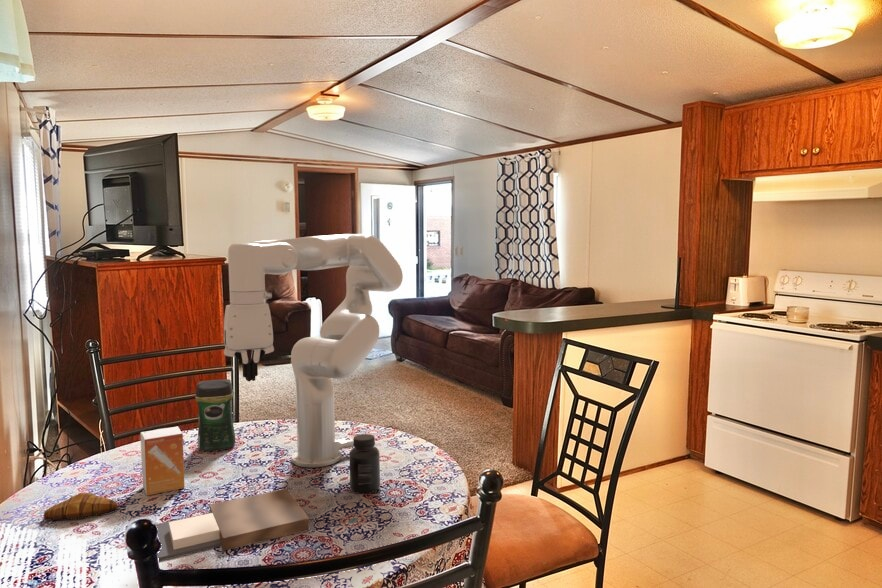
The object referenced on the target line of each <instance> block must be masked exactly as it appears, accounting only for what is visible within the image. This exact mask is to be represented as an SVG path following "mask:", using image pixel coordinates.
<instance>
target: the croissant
mask: <svg viewBox="0 0 882 588" xmlns="http://www.w3.org/2000/svg"><path fill="white" fill-rule="evenodd" d="M117 510H118V502H117V501H115V500H113V499H110V498H108V497H103V496H99V495H96V494H95V493H92V492H90V493H89V492H79V493H78V494H75V495H72V496H71V497H70V498H68V499H66V500H63V501H60V502H59V503H57V504H55V505H52V506H51V507H49V508H48V509H46V510H44V513H43V519H44V520H45V521H64V520H65V521H66V520H69V521H70V520H83V519H87V518H91V517H98V516H103V515H108V514H111V513H113V512H116V511H117Z"/></svg>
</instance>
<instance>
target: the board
mask: <svg viewBox="0 0 882 588" xmlns="http://www.w3.org/2000/svg"><path fill="white" fill-rule="evenodd" d="M208 507H209V513H213V515H214V518H215V520H216V522H217V525H218V527H219V530H220V540H221V543H222V546H221V548H222V551H223V552H225V551H228V550H231V549H232V550H233V549H237V548H240V547H245V546H249V545H253V544H257V543H261V542H266V541H269V540H274V539H278V538H282V537H286V536H290V535H294V534H299V533H302V532H303V533H304V532H307V531H309V530H310V518H309V516H308V515H307V514H306V512H305V511H304V509H303V508H302V506H300V503H298V502H297V500H296V498H295V497H294V495H292V493H291V492H290V490H289V489H288V488H283V489H279V490H278V489H277V490H273V491H268V492H264V493H259V494H253V495H249V496H244V497H239V498H235V499H229V500H225V501H220V502H219V501H218V502H216V503H215V502H214V503H210V504H209V506H208Z"/></svg>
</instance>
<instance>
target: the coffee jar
mask: <svg viewBox="0 0 882 588" xmlns="http://www.w3.org/2000/svg"><path fill="white" fill-rule="evenodd" d="M195 390H196V391H195V401H196V403H197V406H198V407H197V409H198V428H197V429H198V430H197V431H198V432H197V448H198V450H200V451H202V452H216V450H217V451H222V450H223V451H224V450H228V449H231V448H233V447H234V446H235V445H236V434H235V433H236V432H235V427H234V421H233V415H232V399H233V397H234V391H233V390H234V389H233V385H232V381H231V379H230V378H229V379H228V378H226V379H224V378H223V379H210V380H201V381H198V383H197V384H196V387H195Z"/></svg>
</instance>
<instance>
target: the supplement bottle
mask: <svg viewBox="0 0 882 588" xmlns="http://www.w3.org/2000/svg"><path fill="white" fill-rule="evenodd" d="M352 441H353V447H352V448H351V450H350V451H349V456H348V457H349V488H350V490H351V491H352V492H353V493H356V494H360V495H361V494H363V495H364V494H371V493H374V492H377V491H378V490H379V488H380V487H381V469H380V468H381V467H380V466H381V465H380V464H381V463H380V461H381V460H380V451H379V448H378V447H376V446H375V445H376V439H375V435H373V434H368V433H363V434H356V435H355V436H354V437H353V439H352Z"/></svg>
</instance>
